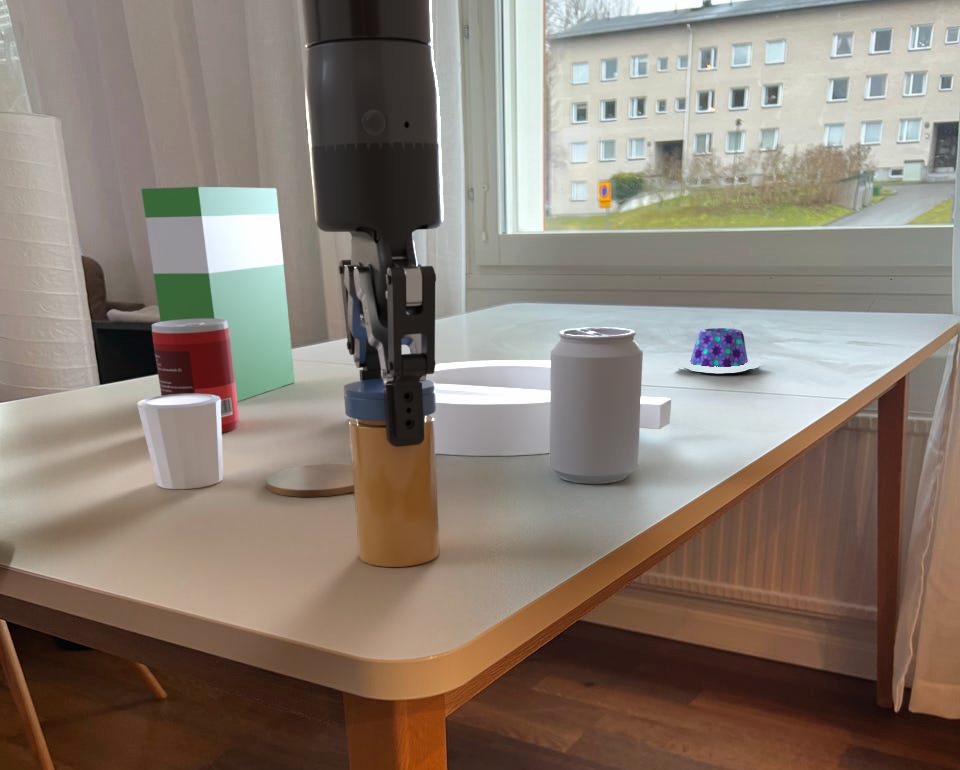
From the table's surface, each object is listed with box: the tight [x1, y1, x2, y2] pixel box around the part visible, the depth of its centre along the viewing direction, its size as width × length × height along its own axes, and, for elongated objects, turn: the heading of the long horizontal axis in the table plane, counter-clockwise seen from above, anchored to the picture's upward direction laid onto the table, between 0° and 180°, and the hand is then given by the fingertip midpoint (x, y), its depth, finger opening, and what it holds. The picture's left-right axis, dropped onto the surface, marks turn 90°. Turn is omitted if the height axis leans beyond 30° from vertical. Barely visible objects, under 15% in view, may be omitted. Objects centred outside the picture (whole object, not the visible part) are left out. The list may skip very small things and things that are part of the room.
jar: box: [348, 415, 440, 568], centre depth 65 cm, size 5×5×10 cm
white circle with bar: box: [350, 359, 672, 457], centre depth 104 cm, size 28×28×5 cm
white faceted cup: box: [136, 393, 224, 490], centre depth 85 cm, size 7×7×7 cm
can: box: [549, 327, 644, 485], centre depth 83 cm, size 8×8×12 cm
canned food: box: [151, 319, 240, 434], centre depth 105 cm, size 8×8×11 cm
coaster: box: [265, 463, 354, 498], centre depth 84 cm, size 9×9×1 cm
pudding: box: [690, 327, 749, 367], centre depth 136 cm, size 12×12×5 cm
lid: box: [343, 378, 436, 421], centre depth 62 cm, size 6×6×2 cm
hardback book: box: [141, 186, 296, 403], centre depth 123 cm, size 18×7×24 cm, turn 162°
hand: (392, 433), depth 63 cm, fingers closed on lid, 5 cm apart
